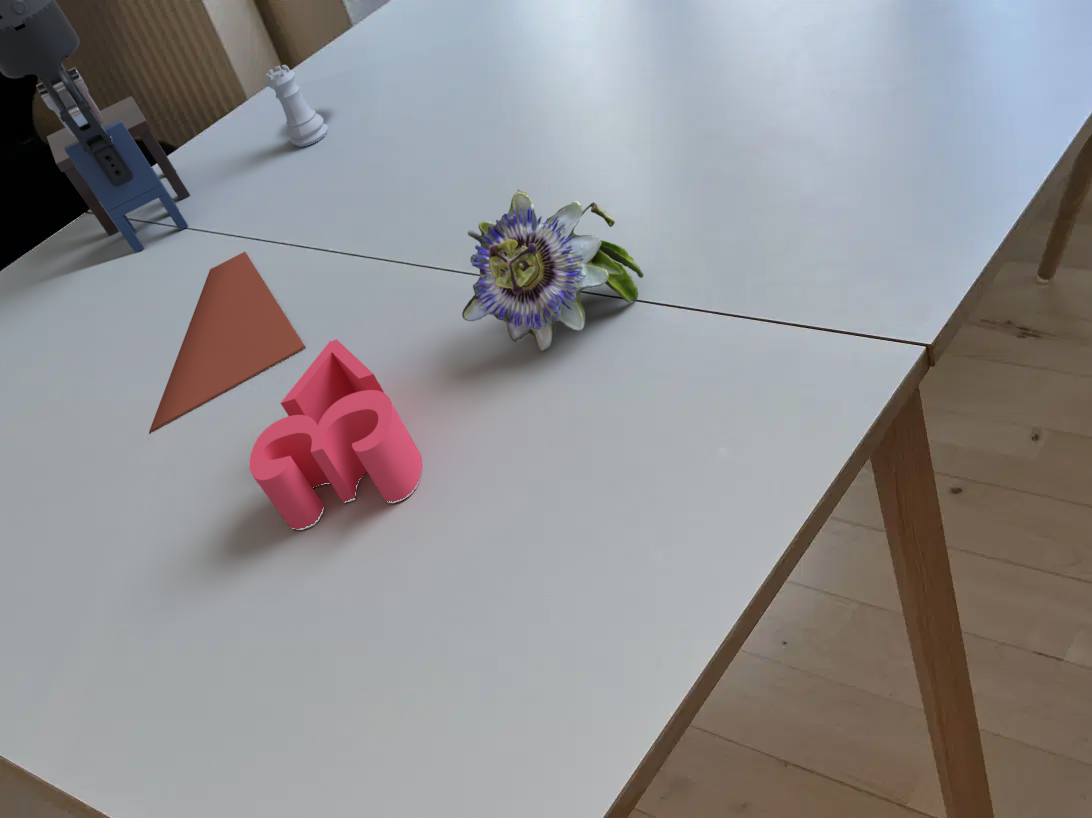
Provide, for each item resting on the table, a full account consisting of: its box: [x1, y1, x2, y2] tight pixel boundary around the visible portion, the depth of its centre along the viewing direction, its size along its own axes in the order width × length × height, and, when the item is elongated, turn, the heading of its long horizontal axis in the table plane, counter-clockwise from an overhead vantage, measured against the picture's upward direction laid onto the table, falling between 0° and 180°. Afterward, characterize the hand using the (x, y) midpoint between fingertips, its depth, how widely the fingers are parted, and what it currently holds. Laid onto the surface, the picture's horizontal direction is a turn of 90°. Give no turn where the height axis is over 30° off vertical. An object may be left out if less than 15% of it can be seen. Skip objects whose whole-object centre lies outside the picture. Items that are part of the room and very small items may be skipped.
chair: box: [64, 120, 189, 254], centre depth 113 cm, size 6×6×12 cm
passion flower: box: [461, 188, 644, 352], centre depth 83 cm, size 11×11×12 cm
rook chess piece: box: [265, 64, 329, 148], centre depth 121 cm, size 4×4×8 cm
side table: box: [46, 95, 191, 237], centre depth 121 cm, size 10×10×9 cm
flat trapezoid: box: [148, 251, 307, 433], centre depth 98 cm, size 22×14×1 cm, turn 30°
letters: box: [249, 338, 423, 529], centre depth 78 cm, size 14×10×5 cm
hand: (122, 179), depth 111 cm, fingers closed on chair, 1 cm apart
